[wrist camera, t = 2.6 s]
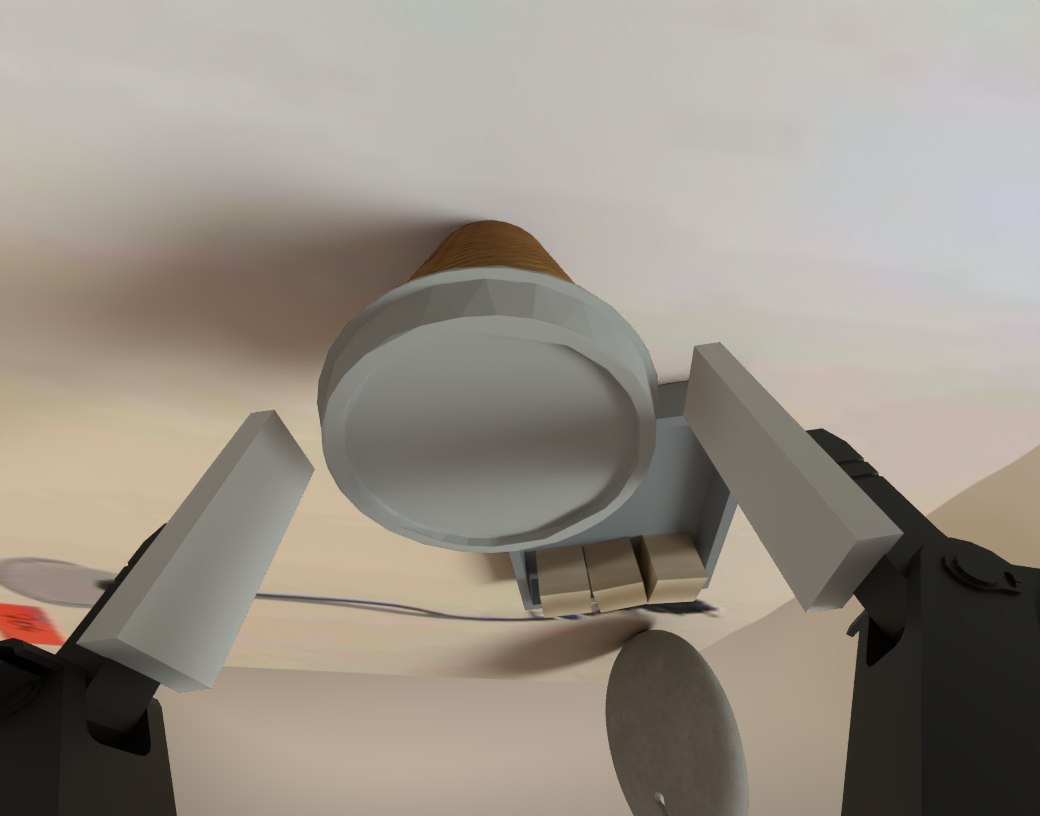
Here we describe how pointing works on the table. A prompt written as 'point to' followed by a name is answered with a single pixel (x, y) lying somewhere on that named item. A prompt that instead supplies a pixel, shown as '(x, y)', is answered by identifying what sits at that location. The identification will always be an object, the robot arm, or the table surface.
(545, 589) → the block
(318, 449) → the table surface
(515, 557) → the tray
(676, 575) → the block
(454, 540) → the disposable coffee cup
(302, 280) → the table surface
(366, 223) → the table surface
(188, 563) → the robot arm
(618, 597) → the block
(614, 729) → the dark grey disc
